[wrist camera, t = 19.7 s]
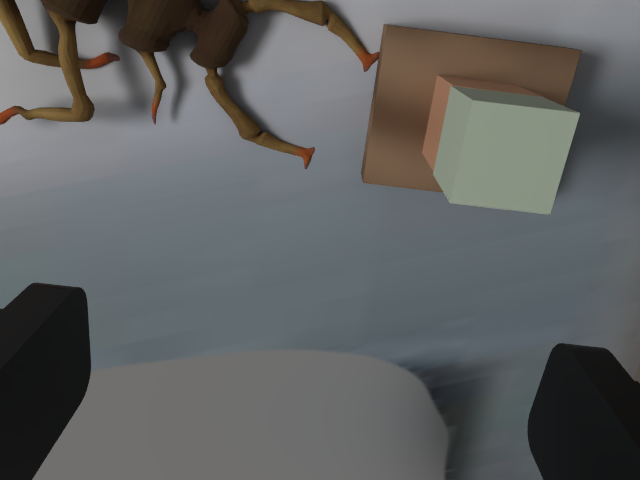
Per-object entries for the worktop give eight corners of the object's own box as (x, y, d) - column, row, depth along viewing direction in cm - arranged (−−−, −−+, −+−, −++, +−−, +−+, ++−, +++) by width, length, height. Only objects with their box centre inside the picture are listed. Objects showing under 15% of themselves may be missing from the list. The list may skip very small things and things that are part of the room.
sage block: (450, 85, 29) (472, 100, 25) (541, 96, 29) (580, 113, 25) (432, 174, 31) (450, 203, 27) (518, 184, 31) (550, 214, 27)
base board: (383, 24, 35) (387, 25, 33) (565, 47, 35) (581, 50, 33) (361, 172, 39) (362, 182, 37) (524, 192, 39) (536, 203, 37)
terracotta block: (437, 74, 34) (453, 85, 29) (515, 84, 34) (544, 96, 29) (421, 152, 36) (435, 174, 31) (496, 162, 36) (520, 184, 31)
